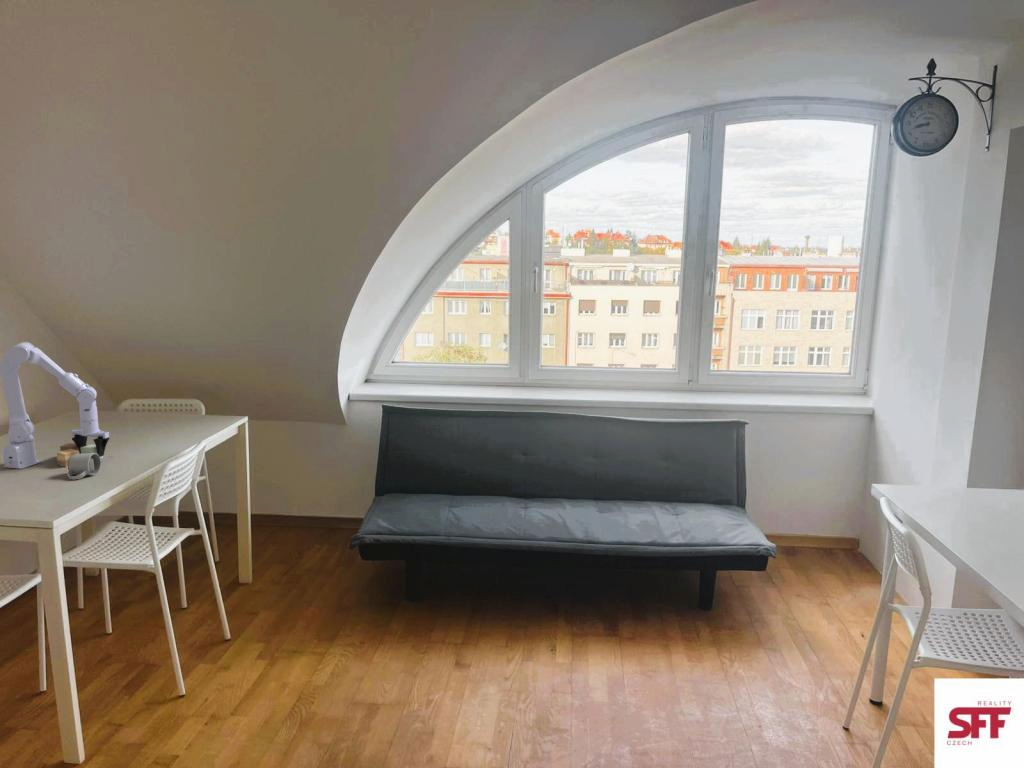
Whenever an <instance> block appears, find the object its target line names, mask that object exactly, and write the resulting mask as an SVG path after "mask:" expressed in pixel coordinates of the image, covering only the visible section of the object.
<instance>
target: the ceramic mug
mask: <svg viewBox="0 0 1024 768" xmlns="http://www.w3.org/2000/svg"><path fill="white" fill-rule="evenodd" d="M67 466H68V467H67V469H68V470H67V477H68V479H69V480H71V479H72V480H73V481H77V480H76V479H78V480H81V479H83V478H84V477H85V476H96V475H98V474H99V473H100V470H101V466H102V459H100V457H99V455H98V454H97V453H86V454H75V455H72V456H71V457H70V458H69V460H68V464H67ZM72 475H75V476H72ZM72 480H71V481H72Z"/></svg>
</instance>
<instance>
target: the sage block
mask: <svg viewBox="0 0 1024 768" xmlns="http://www.w3.org/2000/svg"><path fill="white" fill-rule="evenodd" d="M86 453H97V448H96V445H95V444H91V443H90V444H86V446H84V447H81V454H86ZM100 458H102V459H104V456H101V457H100Z"/></svg>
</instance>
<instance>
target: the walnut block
mask: <svg viewBox="0 0 1024 768" xmlns="http://www.w3.org/2000/svg"><path fill="white" fill-rule="evenodd" d="M67 449H73V450H77V451H79V450H78V447H77V446H76V444H75V443H74V442H67V443H65V444H62V445H60V446H59V451H63V450H67ZM79 454H80V452H79Z"/></svg>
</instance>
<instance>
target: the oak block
mask: <svg viewBox="0 0 1024 768" xmlns="http://www.w3.org/2000/svg"><path fill="white" fill-rule="evenodd" d="M75 454H79V451H77V450H73V449H67V450H63V451H60V450H59V451H56V462H57V466H59V465H62V466H61V467H63V466H65V467H64V468H68V467H67V464H68V460H69V458H70V457H71V456H72V455H75Z"/></svg>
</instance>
